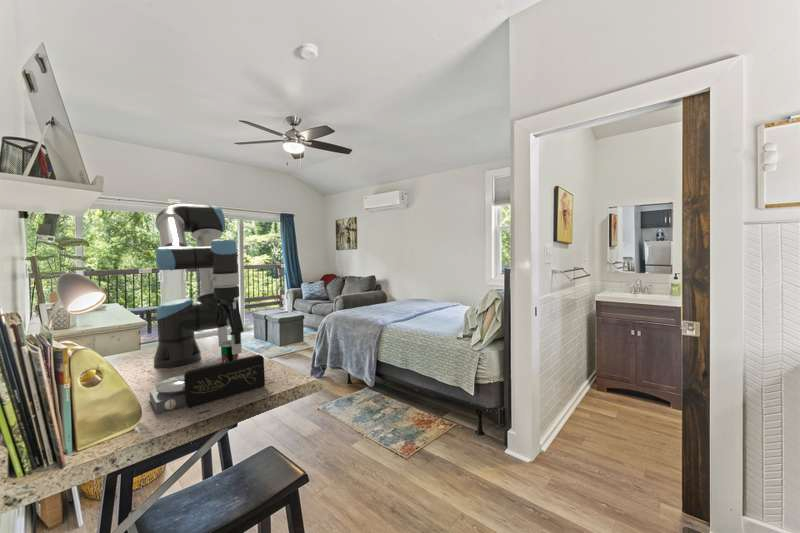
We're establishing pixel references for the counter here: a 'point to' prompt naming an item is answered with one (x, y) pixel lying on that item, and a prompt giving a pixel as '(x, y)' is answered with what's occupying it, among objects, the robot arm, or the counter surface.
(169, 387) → the scale pan
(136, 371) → the counter surface
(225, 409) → the counter surface
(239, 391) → the nameplate
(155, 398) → the scale base
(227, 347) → the soda can
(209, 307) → the robot arm
